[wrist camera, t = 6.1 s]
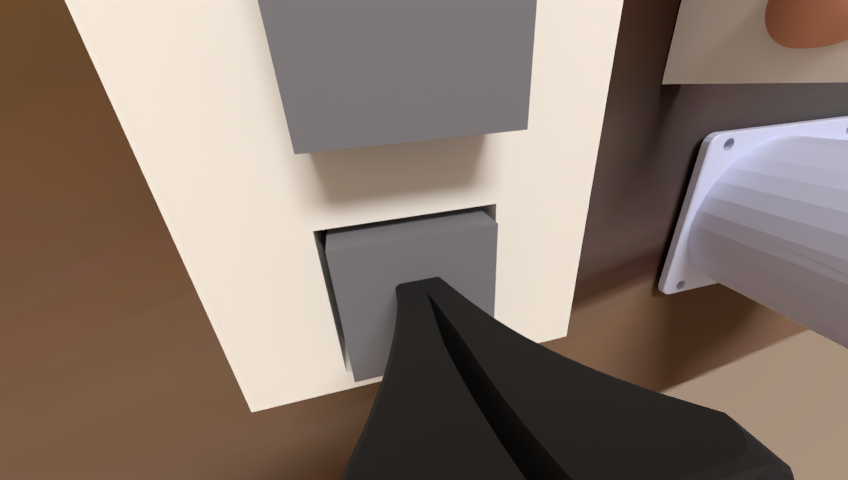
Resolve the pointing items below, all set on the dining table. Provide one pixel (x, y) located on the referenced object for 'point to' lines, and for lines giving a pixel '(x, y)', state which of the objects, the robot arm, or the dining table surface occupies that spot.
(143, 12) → the button board
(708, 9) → the card
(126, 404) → the dining table surface
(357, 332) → the button cup side
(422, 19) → the button middle
